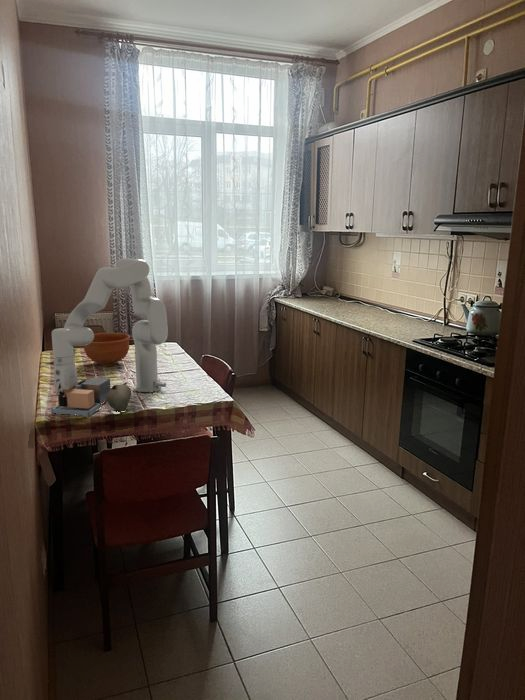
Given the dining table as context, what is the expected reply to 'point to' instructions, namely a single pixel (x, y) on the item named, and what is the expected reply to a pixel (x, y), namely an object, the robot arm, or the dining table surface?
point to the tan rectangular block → (79, 398)
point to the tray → (75, 410)
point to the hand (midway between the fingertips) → (67, 403)
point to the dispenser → (96, 387)
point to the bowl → (108, 348)
